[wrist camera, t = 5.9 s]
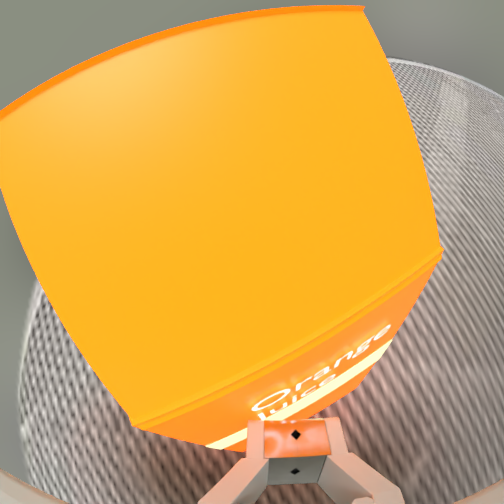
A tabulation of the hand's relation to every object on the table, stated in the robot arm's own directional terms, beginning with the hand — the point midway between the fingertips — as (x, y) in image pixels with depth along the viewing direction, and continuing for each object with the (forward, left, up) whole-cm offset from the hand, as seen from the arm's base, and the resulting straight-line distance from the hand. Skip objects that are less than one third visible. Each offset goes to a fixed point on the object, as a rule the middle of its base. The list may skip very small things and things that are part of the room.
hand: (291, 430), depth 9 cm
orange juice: (-2, -2, -11) cm, 11 cm away
